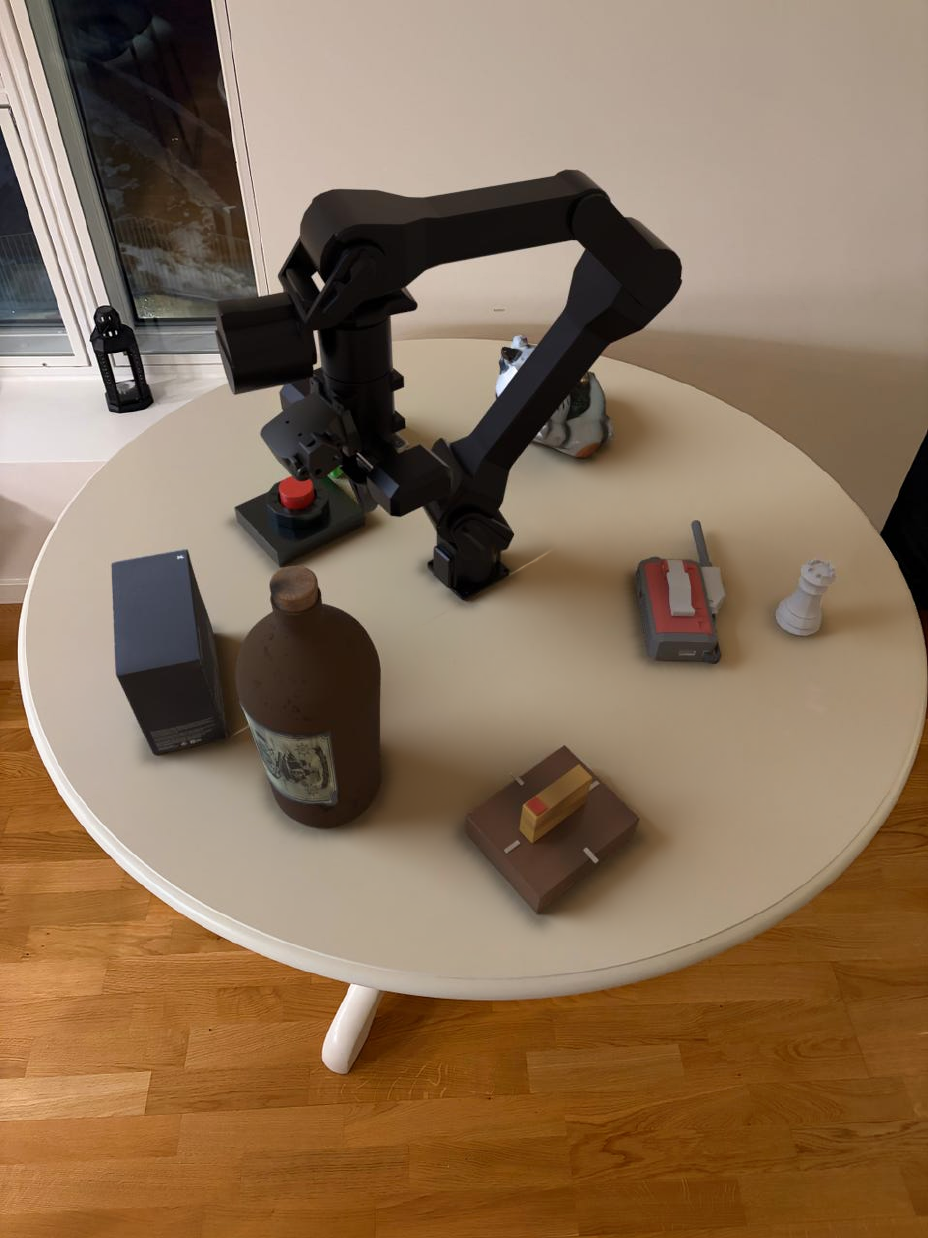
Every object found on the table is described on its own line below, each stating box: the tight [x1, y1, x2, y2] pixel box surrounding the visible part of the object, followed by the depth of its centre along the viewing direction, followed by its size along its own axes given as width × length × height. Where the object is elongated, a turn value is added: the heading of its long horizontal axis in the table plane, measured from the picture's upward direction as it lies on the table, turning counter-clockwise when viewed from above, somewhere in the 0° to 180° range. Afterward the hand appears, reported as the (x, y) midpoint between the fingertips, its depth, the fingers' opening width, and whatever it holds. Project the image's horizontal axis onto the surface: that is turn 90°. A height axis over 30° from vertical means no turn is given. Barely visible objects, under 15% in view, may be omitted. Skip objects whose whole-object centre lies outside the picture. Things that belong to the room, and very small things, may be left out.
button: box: [279, 475, 315, 509], centre depth 96 cm, size 4×4×2 cm
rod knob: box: [519, 764, 592, 843], centre depth 71 cm, size 6×2×4 cm, turn 129°
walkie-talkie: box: [634, 519, 726, 666], centre depth 92 cm, size 9×4×20 cm
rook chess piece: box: [775, 557, 837, 637], centre depth 89 cm, size 4×4×8 cm
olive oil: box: [235, 565, 382, 828], centre depth 69 cm, size 11×11×25 cm
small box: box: [110, 548, 229, 756], centre depth 80 cm, size 13×7×12 cm, turn 16°
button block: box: [233, 475, 366, 568], centre depth 98 cm, size 11×9×4 cm
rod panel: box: [464, 744, 641, 915], centre depth 74 cm, size 11×10×3 cm
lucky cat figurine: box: [494, 334, 615, 459], centre depth 107 cm, size 15×12×14 cm
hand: (368, 509), depth 84 cm, fingers closed
